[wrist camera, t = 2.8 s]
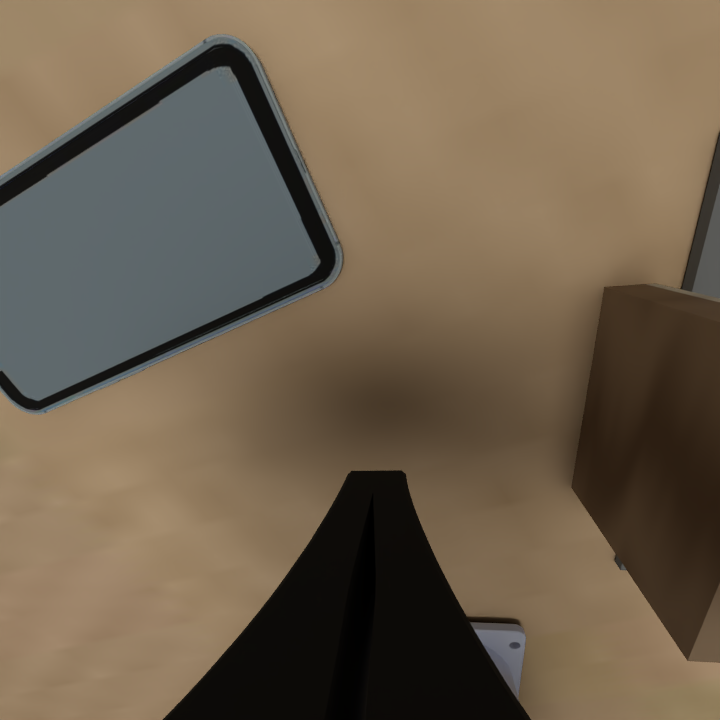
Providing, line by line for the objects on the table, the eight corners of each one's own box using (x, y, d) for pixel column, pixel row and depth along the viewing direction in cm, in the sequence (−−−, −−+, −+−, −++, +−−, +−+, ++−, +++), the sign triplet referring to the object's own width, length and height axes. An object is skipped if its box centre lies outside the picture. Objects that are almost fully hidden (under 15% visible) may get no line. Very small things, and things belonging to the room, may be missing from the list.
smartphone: (353, 277, 11) (27, 422, 14) (355, 273, 12) (48, 410, 15) (237, 13, 9) (-121, 253, 12) (250, 32, 10) (-87, 251, 13)
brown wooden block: (610, 486, 14) (757, 664, 8) (570, 486, 14) (687, 660, 8) (655, 283, 11) (925, 346, 5) (603, 286, 11) (814, 351, 6)
